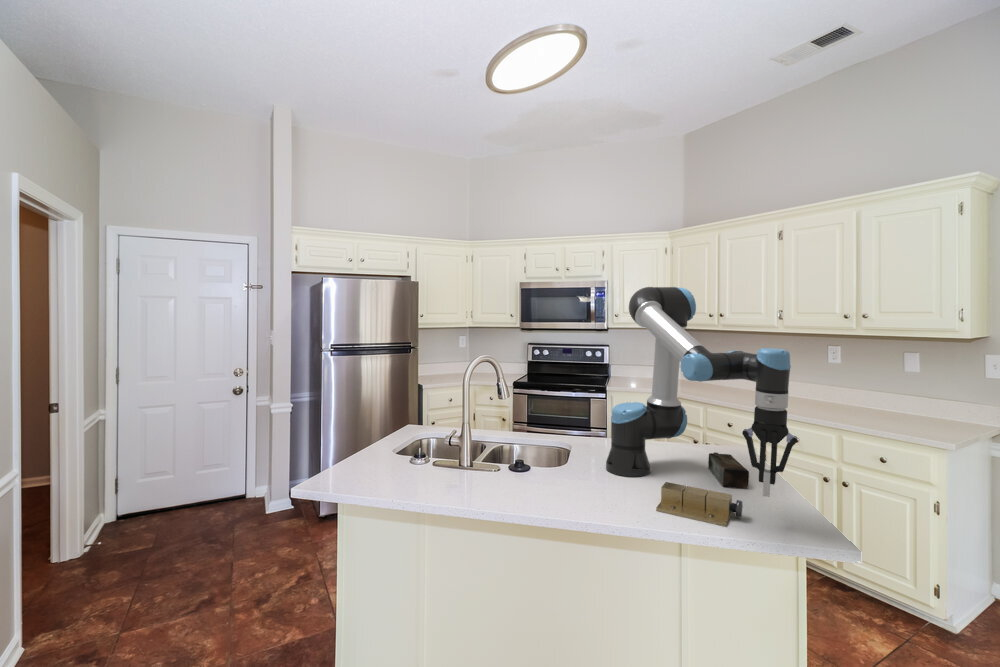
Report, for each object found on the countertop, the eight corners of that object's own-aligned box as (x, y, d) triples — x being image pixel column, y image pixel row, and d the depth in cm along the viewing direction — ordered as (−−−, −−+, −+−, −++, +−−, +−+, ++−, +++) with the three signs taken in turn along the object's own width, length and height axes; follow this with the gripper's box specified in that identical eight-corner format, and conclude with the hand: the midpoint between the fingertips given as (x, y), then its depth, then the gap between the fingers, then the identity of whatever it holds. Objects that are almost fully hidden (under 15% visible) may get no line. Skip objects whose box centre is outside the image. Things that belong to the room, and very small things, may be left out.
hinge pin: (667, 504, 140) (667, 489, 140) (670, 499, 144) (671, 484, 144) (740, 520, 130) (740, 504, 129) (742, 514, 133) (742, 498, 133)
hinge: (656, 510, 136) (656, 492, 136) (669, 493, 149) (670, 477, 149) (725, 526, 127) (726, 507, 126) (733, 506, 139) (734, 489, 139)
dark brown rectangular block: (731, 470, 172) (731, 452, 171) (749, 490, 153) (750, 470, 152) (707, 469, 173) (708, 450, 173) (723, 488, 154) (723, 468, 154)
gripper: (741, 407, 127) (737, 494, 129) (799, 414, 120) (794, 505, 122) (744, 401, 133) (740, 484, 135) (800, 408, 126) (795, 495, 128)
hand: (766, 494), depth 128 cm, fingers closed
